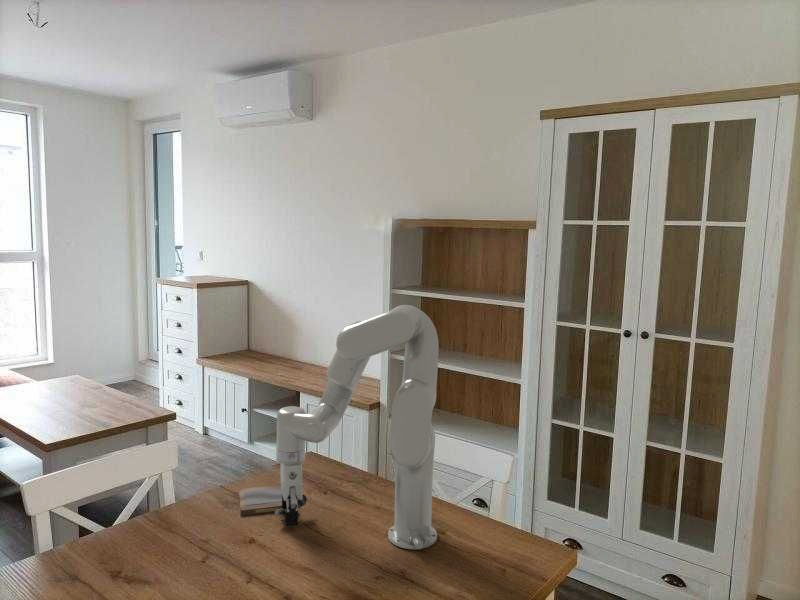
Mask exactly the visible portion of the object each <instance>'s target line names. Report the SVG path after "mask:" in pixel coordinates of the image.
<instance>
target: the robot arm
mask: <svg viewBox="0 0 800 600" xmlns="http://www.w3.org/2000/svg"><path fill="white" fill-rule="evenodd" d="M436 329H437V328H436V326H435V325H434V323H433V321H432V320H431V317H429V316H428V315H427V314H426V313H425V312H424V311H422V310H421V309H420V308H418V307H416V306H413V305H410V304H409V305H408V304H401V305H398V306H395V307H394V308H392V309H391V310H389V311H387V312H384V313H382V314H380V315H377V316H375V317H371V318H369V319H367V320H363V321H362V320H359V321H358V320H357V321H353V322H351V323H350V324H348V325H347V326H344V327H343V328H342V329H341V330H340V332H339V333H338V335H337V337H336V344H335V345H336V351H335V353H334V355H333V357H332V359H331V361H330V364H329V366H328V367H327V369H326V373H325V374H326V376H327V384H326V387H325V390H324V392H323V394H322V396H321V398H320V400H319V402H318V404H317V406H316V407H315V408H314V409H313V410H312V411H311V412H308V413H306V411H305V409H304V408H302V407H301V406H295V405H290V406H289V405H288V406H285V407H282V408H280V409H278V411H277V414H276V443H275V444H276V446H275V447H276V451H275V452H276V455H275V461H276V462H277V463H278V464H280V468H279V469H280V474H279V475H280V485H281V490H282V495H283V496H282V508H283V509H284V510H285V509H287V511H285V518H284V520H285V522H284V526H285V525H286V527H292V526H298V525H299V522H298V518H299V514H298V513H299V509H298V505H297V498H298V500H302V498H303V496H302V495H303V465H302V463H303V462H305V460H306V442H309V443H314V444H315V443H317V444H318V443H321V442H324V441H325V440H326V439H327V438H328V437H329V436H330V435H331V434H332V433H333V431H334V430H335V429H336V428H338V427H337V426H338V425H339V423H340V422H341V420H342V418H343V416H344V414H345V413H346V410H347V408H348V406H349V404H350V402H351V399H352V397H353V395H354V393H355V391H356V388H357V385H358V383H359V381H360V380H361V378H362V375H363V373H364V371H365V368H366V366H367V365H368V363H369V360H370V359H371V357H372V356H375V355H378V354H381V353H384V352H387V351H389V350H392V349H395V348H398V347H400V346H401V347H402V346H404V345H405V346H404V347H405V349H404V357H403V372H402V380H401V384H400V386H399V388H398V389H397V391H396V393H395V395H394V396H393V397H394V398H393V401H392V406H391V407H392V408H391V418H390V431H389V443H388V445H389V454H390V457H391V459H392V460H393V461H394V463H395V474H394V475H395V476H394V477H395V480H394V484H395V485H394V525H392V526H390V528H389V529H388V532H387V538H388V540H389V542H390V543H392V544H393V545H394V546H396V547H399V548H402V549H406V550H422V549H426V548H429V547H431V546H433V545H434V544H435V543H436V542H437V540H438V532H437V530H436V529H435V528H434V527H433V526H432V519H433V518H432V510H433V481H434V460H435V459H434V457H435V449H436V448H435V444H436V432H435V429H434V428H435V427H434V426H433V424H432V417H433V409H434V407H435V405H436V401H437V383H438V369H439V368H438V365H439V351H440V350H439V337H438V332H437V330H436ZM289 502H291V504H290V505H289Z"/></svg>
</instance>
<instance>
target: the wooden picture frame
mask: <svg viewBox="0 0 800 600" xmlns="http://www.w3.org/2000/svg"><path fill="white" fill-rule="evenodd" d="M238 495H239V496H238V497H239V498H238V499H239V510H240V511H239V512H240V516H249V515H257V514H267V513H275V511H276V510H278V509H280V508H282V496H283V495H282V490H281V484H275V485H265V486H255V487H254V486H253V487H244V488H239V489H238Z"/></svg>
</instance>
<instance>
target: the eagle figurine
mask: <svg viewBox="0 0 800 600" xmlns="http://www.w3.org/2000/svg"><path fill="white" fill-rule="evenodd" d="M302 496H303V498H302V500H298V498H297V505H298V510H300V509H301V507H304V506H305V505H306V503H307V501H308V498H307V496H306V495H305V494H302ZM290 504H291V502H289V505H290ZM285 511H287V509H285V510H284V509H283V508H280V509H278V510H276V511H275V512H274V515H275V516H276V517H280V516H283V517H284V519H280V522H284V523H285ZM299 514H300V512H298V515H299ZM299 522H300V518H299V517H298V523H299ZM283 527H284V529H285V528H286V527H287V526H286V525H285V524H284V526H283Z"/></svg>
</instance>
